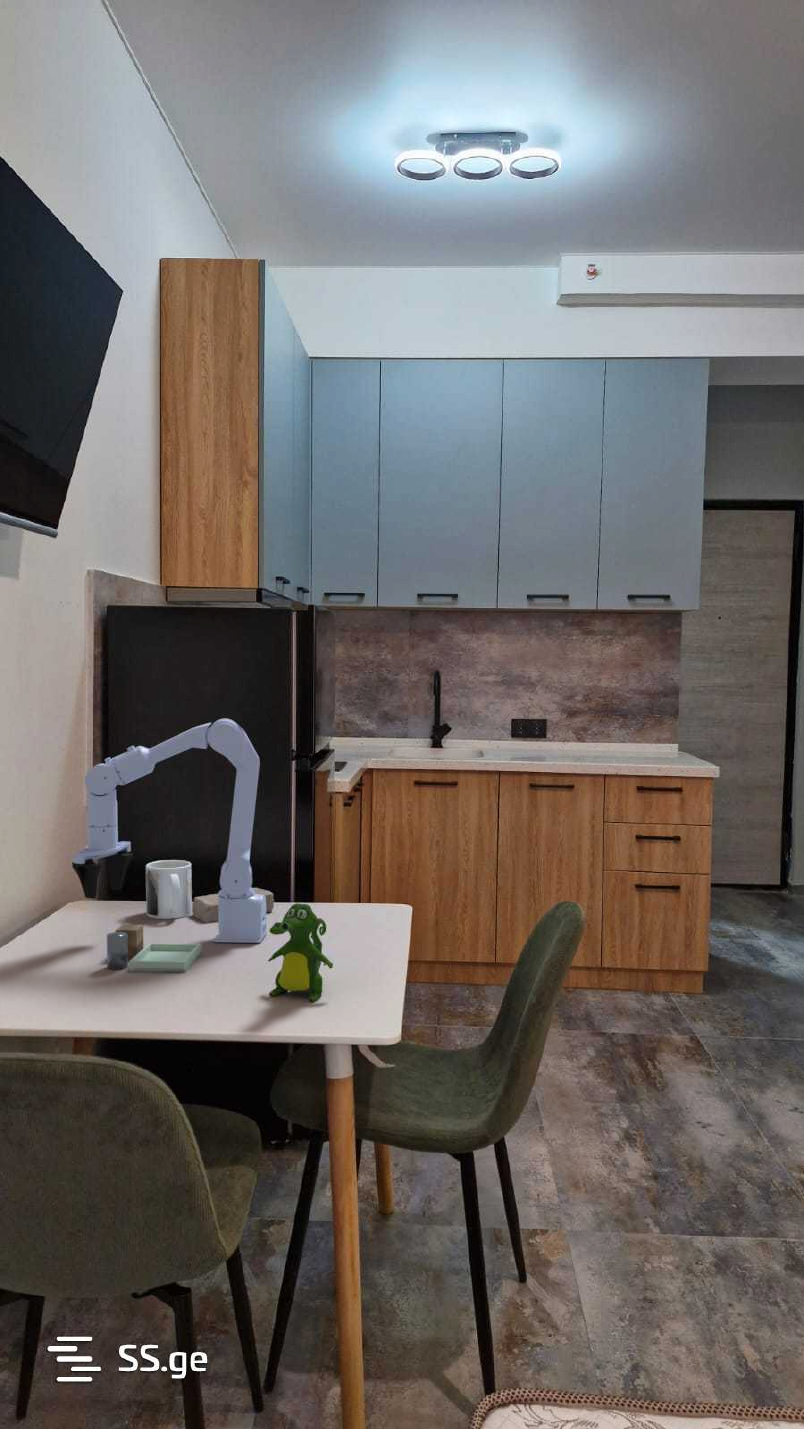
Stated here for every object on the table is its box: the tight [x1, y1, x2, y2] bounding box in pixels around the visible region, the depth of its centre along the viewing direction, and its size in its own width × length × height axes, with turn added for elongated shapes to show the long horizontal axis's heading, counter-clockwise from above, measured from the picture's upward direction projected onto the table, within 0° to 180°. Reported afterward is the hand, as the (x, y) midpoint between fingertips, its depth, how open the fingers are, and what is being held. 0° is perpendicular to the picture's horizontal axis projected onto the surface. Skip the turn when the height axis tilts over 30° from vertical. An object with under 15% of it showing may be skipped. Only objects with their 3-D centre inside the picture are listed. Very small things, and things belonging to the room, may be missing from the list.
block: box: [114, 924, 144, 960], centre depth 190 cm, size 4×4×6 cm
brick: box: [191, 887, 275, 923], centre depth 223 cm, size 17×8×5 cm, turn 125°
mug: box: [145, 859, 193, 920], centre depth 221 cm, size 10×12×11 cm
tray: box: [128, 942, 202, 973], centre depth 186 cm, size 10×12×2 cm
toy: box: [267, 902, 334, 1002], centre depth 168 cm, size 12×19×15 cm, turn 160°
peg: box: [106, 931, 129, 971], centre depth 183 cm, size 4×4×6 cm
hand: (103, 893), depth 198 cm, fingers open, 7 cm apart
